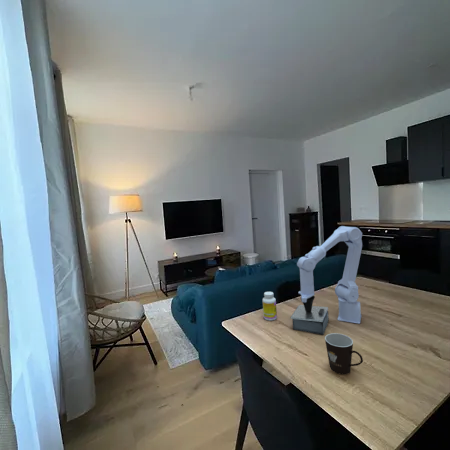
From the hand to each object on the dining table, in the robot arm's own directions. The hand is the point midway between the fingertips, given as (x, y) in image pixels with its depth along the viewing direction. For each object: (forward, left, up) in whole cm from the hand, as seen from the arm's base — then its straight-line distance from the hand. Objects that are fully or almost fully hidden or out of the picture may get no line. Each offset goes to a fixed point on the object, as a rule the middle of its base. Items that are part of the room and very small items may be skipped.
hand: (308, 312), depth 114 cm
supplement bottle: (+19, 0, -6) cm, 20 cm away
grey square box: (-1, 0, -6) cm, 6 cm away
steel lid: (0, 0, -1) cm, 1 cm away
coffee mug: (-17, +28, -6) cm, 33 cm away
